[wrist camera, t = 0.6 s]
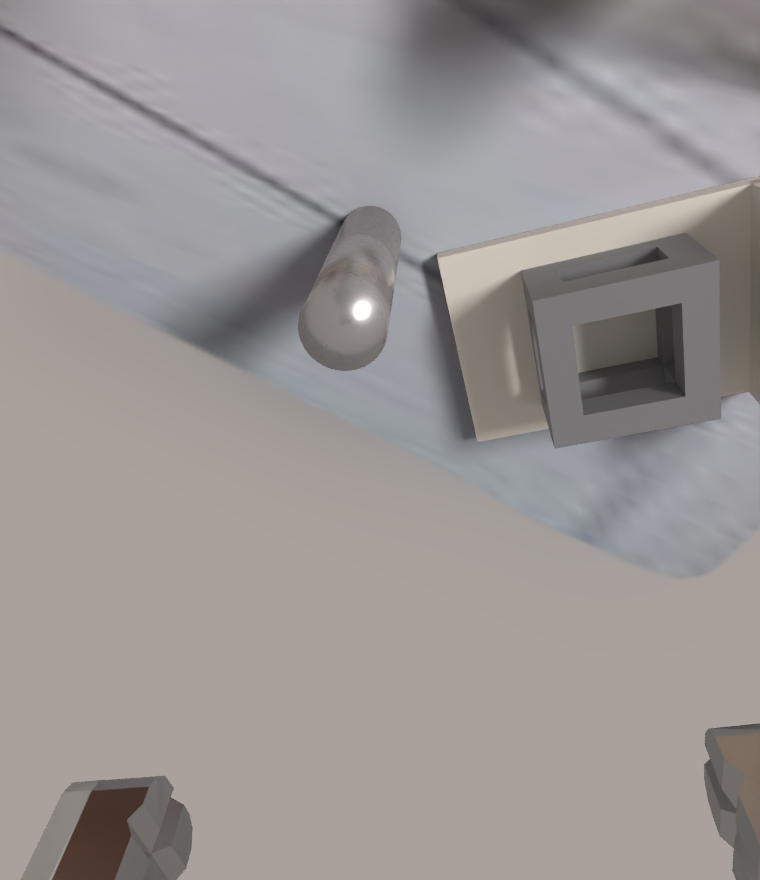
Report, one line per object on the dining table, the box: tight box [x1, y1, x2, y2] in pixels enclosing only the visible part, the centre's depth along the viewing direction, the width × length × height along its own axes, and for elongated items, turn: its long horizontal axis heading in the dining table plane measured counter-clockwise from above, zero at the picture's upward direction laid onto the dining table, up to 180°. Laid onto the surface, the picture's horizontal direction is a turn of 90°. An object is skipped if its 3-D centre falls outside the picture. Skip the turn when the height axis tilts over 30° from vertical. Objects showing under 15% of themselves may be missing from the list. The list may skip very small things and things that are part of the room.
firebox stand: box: [437, 176, 760, 448], centre depth 42 cm, size 14×20×10 cm
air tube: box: [298, 206, 401, 371], centre depth 37 cm, size 4×4×16 cm
